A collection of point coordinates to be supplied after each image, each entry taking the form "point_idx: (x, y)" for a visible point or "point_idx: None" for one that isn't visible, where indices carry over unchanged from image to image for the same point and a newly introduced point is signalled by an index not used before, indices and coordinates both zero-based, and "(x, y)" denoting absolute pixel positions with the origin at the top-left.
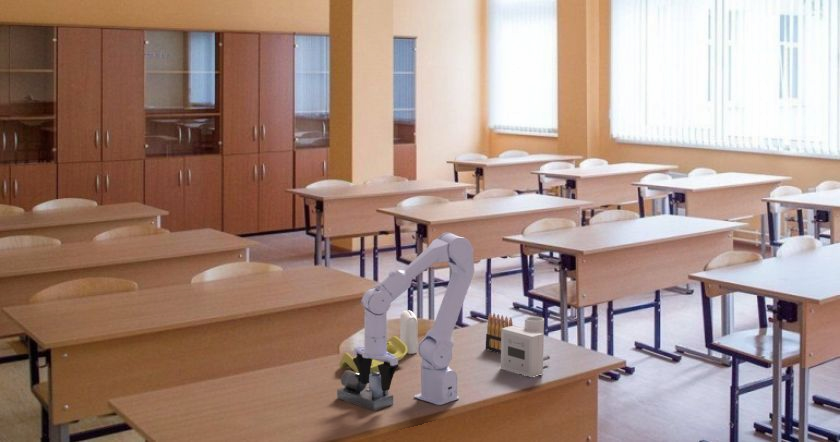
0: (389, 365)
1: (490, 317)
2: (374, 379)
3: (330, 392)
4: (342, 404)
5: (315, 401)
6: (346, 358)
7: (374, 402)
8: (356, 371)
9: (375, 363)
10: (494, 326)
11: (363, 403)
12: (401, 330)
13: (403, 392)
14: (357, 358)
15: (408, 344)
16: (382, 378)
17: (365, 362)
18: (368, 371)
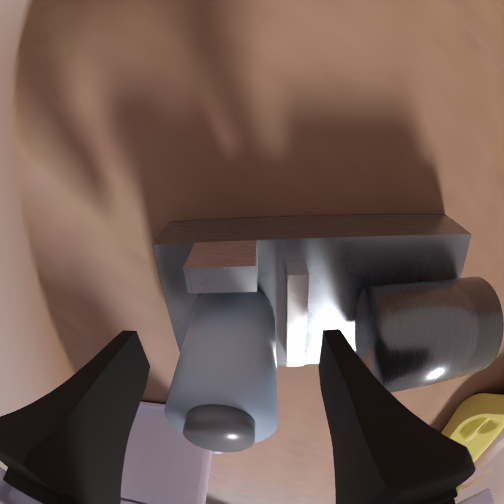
0: (11, 469)
1: None
2: (182, 377)
3: (498, 247)
4: (371, 167)
5: (484, 114)
6: None
7: (155, 246)
8: (487, 396)
9: (460, 439)
10: None
11: (248, 225)
12: (456, 497)
13: (280, 415)
14: (429, 493)
15: None
16: (76, 384)
17: (350, 488)
18: (334, 429)
